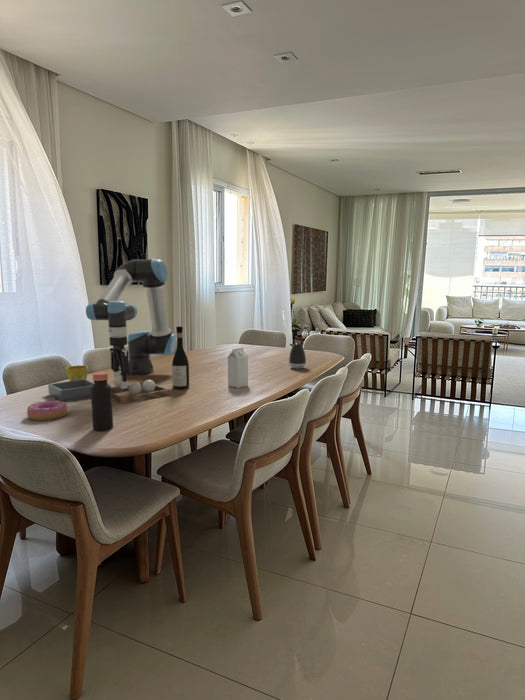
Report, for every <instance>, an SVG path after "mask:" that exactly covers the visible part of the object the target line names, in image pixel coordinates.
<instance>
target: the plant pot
mask: <svg viewBox="0 0 525 700" xmlns="http://www.w3.org/2000/svg"><path fill="white" fill-rule="evenodd" d="M88 374H89V366H88V365H83V364H81V365H69V366H67V367H65V375H66V376H67V377H68V381H75V380H82V379H86V380H87V377H88Z"/></svg>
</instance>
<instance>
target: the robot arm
mask: <svg viewBox="0 0 525 700" xmlns="http://www.w3.org/2000/svg"><path fill="white" fill-rule="evenodd" d="M167 281H168V269H167V265H166V264H165V262H164V261H163V260H161V259H155V258H152V259H151V258H150V259H147V258H146V259H144V258H143V259H137V258H136V259H132V260H128V261H126V262H125V263H123V264H121V265H120V266H119V267H118V268H117V269H116V270H115V272H114V273H113V278H112V279H111V280H110V282H109V284H108V285H107V286H106V288H105V289H104V291H103V292H102V294H101V295H100V297H99V298H98V300H97V301H96V302H95V303H89V304H87V305H86V307H85V316H86V317H87V319H88V320H90V321H108V330H107V331H108V333H109V346H111V347H110V348H109V352H110V368H111V370H112V371H113V378H115V377H116V376H118V375H120V379H121V389H125V388H127V385H128V382H127V380H128V376H127V374H128V373H129V374H128V375H146V374H147V373H148V374H152V373H153V372H154V366H153V363H152V360H151V355H164V356H165V355H171V354H173V353H174V351H175V350H176V345H177V335H176V333H175V334H174V333H172V329H171V328H170V327H169V325H168V318H167V311H166V303H165V296H164V291H163V290H164V288H163V287H164V286H165V284H166V282H167ZM136 282H137V283H141V284H142V288H145V291H146V297H147V303H148V309H149V316H150V324H151V331H149V330H142V331H135V332H131V333H129V334H128V329H127V328H128V327H127V321H131V320H133V319H136V317H137V315H138V309H137V307H136V306H135V305H134V304H132V303H128V302H127V303H126V302H125V301H122V300H119V299H120V297H121V296H122V294H123V293H124V292H125V290H126V288H127V287H128V286H130V285H131V284H132V283H136ZM127 335H128V336H127ZM125 346H127V347H128V351H127V350H126V349H125ZM151 372H152V373H151Z"/></svg>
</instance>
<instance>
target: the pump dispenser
mask: <svg viewBox="0 0 525 700" xmlns="http://www.w3.org/2000/svg"><path fill="white" fill-rule="evenodd" d="M289 345H290V346H291V350H290V353H289V357H288V363H289V366H290V368H292V369H294V370H300V369H303V368H304V367H305V366H306V363H307V357H306V356H307V355H306V353H305V348H304V347H303V345H302V344H301V343H300V342H295V343H294V344H293V343H289Z"/></svg>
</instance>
